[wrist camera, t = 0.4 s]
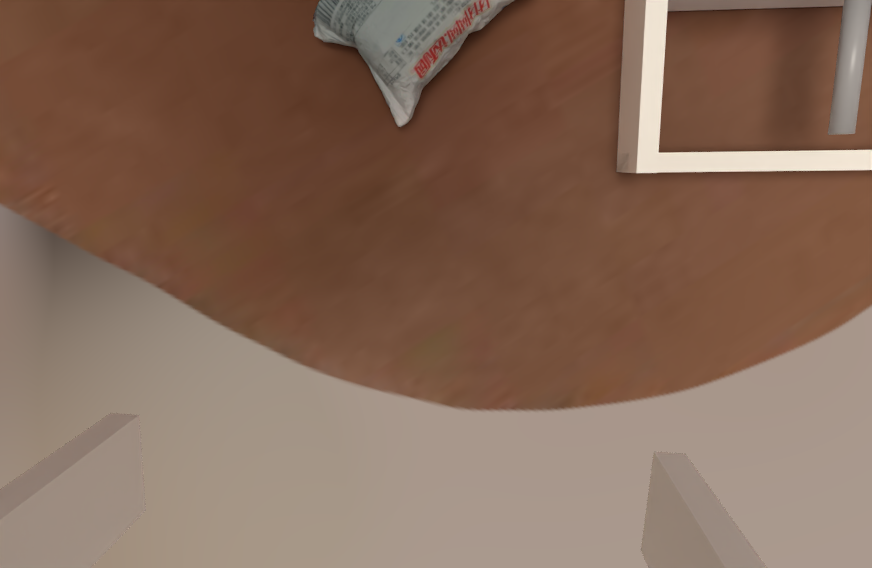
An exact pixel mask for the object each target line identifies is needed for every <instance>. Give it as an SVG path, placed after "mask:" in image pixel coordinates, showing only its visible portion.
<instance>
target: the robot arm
mask: <svg viewBox="0 0 872 568" xmlns="http://www.w3.org/2000/svg"><path fill="white" fill-rule="evenodd" d="M145 510H146V508H145V493H144V478H143V463H142V449H141V435H140V420H139V415H131V414H118V413H110V414H109V415H107V416H106V417H104V418H103V419H101V420H100V421H98V422H97V423H95V424H94V425H93V426H91V427H90V428H88V429H87V430H85V431H84V432H82V433H81V434H79V435H78V436H77V437H75V438H74V439H72V440H71V441H69V442H68V443H66V444H65V445H64V446H62V447H61V448H59V449H58V450H56V451H55V452H53V453H52V454H50V455H49V456H48V457H46V458H45V459H43V460H42V461H40V462H39V463H37V464H36V465H35V466H33V467H32V468H30V469H29V470H27V471H26V472H24V473H23V474H21V475H20V476H19V477H17V478H16V479H14V480H13V481H11V482H10V483H9V484H7V485H5V486H4V487H3V488H1V489H0V568H91V567H92V566H93V565H94V564H95V563H96V562H97V561H98V560H99V559H100V558H101V557H102V556H103V555H104V554H105V553H106V551H107V550H108V549H109V548H110V547H111V546H112V545H113V544H114V543H115V542H116V541H117V540H118V539H119V538H120V537H121V536H122V535H123V534H124V532H125V531H126V530H127V529H128V528H129V527H130V526H131V525H132V524H133V523H134V522H135V521H136V520H137V519H138V518H139V517H140V516H141V515H142V513H143V512H144V511H145ZM641 551H642V554H643V556H644V559H645V561H646V563H647V565H648V568H767V567H766V565H765V564H764V562H763V561H762V560H761V558H760V557H759V555H758V554H757V553H756V551H755V550H754V549H753V547H752V546H751V544H750V543H749V542H748V540H747V539H746V537H745V536H744V535H743V533H742V532H741V530H740V529H739V528H738V526H737V525H736V523H735V522H734V521H733V519H732V518H731V516H729V514H728V512H727V511H726V509H725V508H724V507H723V505H722V504H721V502H720V501H719V500H718V498H717V497H716V496H715V494H714V493H713V491H712V490H711V489H710V487H709V486H708V484H707V483H706V482H705V480H704V479H703V477H702V476H701V475H700V473H699V472H698V470H697V469H696V468H695V466H694V465H693V463H692V462H691V461H690V459H689V458H688V456H687V455H686V454H681V453H666V452H654V455H653V463H652V470H651V477H650V485H649V493H648V500H647V508H646V515H645V524H644V531H643V538H642V546H641Z"/></svg>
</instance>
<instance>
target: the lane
mask: <svg viewBox="0 0 872 568" xmlns="http://www.w3.org/2000/svg"><path fill="white" fill-rule="evenodd" d="M667 9H668V0H625V9H624V30H623V50H622V70H621V91H620V111H619V132H618V152H617V172H623V173H657V172H737V171H826V170H872V150H822V151H748V152H673V153H658V152H659V136H660V120H661V104H662V88H663V72H664V56H665V41H666V25H667Z"/></svg>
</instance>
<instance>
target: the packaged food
mask: <svg viewBox="0 0 872 568" xmlns="http://www.w3.org/2000/svg"><path fill="white" fill-rule="evenodd" d="M513 1H514V0H320V1H319V2H318V5H317V7H316V10H315V13H314V18H313V21H314V23H315V27H314V29H313V30H314V35H315V36H316V37H318V38H319V39H321V40H322V41H323V42H332V43H338V44H341V45H345V46H351V47H355V48H356V49H358V51H359V53H360V55H361V56H362V57H363V59H364V60H365V62H366V63H367V64H368V66H369V68H370V70H371V72H372V74H373V76H374V78H375V80H376V82H377V84H378V86H379V88H380V89H381V91H382V93H383V95H384V97H385V100H386V102H387V104H388V105H389V107H390V111H391V113H392V116H393V117H394V118H395V123H396V124H397V126H399V127H401V126H403V125H405V124H407V123H408V122H409V120H410V119H411V118H412V116H413V113H414V110H415V107H416V105H417V103H418V100H419V98H420V95H421V91H422V89H423V88H424V87H425V86H426V85H427V84H428V83H429V82H430V81H431V80H432V78H433V77H434V76H435V75H436V74H437V73H438V72H439V71H440V70H441V69H442V68H443V67H444V66H445V65H446V64H447V63H448V62H449V61H450V60H451V59H452V58H453V57H454V55H455V54H456V53H457V52H458V50H459V49H460V47H461V45H462V44H463V42H464V40H465V39H466V38H467V35H468V34H470V33H472V32H475V31H478V30H481V29H482V28H483V27H484V26H485V25H487V24H488V23H489V22H490V21H491V20H492V19H493V18H494V17H495V16H496V15H497V14H498V13H499V12H500V11H501V10H502V9H503V8H504V7H505V6H507V5H509V4H510V3H511V2H513Z"/></svg>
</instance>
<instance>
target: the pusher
mask: <svg viewBox="0 0 872 568" xmlns="http://www.w3.org/2000/svg"><path fill="white" fill-rule="evenodd" d="M871 5H872V0H668V9H667V11H694V10H728V9H762V8H795V7H829V6H843V12H842V20H841V29H840V37H839V46H838V54H837V62H836V71H835V79H834V88H833V96H832V104H831V113H830V121H829V130H828V134H854V133H855V128H856V121H857V113H858V105H859V97H860V89H861V82H862V74H863V66H864V58H865V50H866V42H867V35H868V27H869V19H870V11H871Z"/></svg>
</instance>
